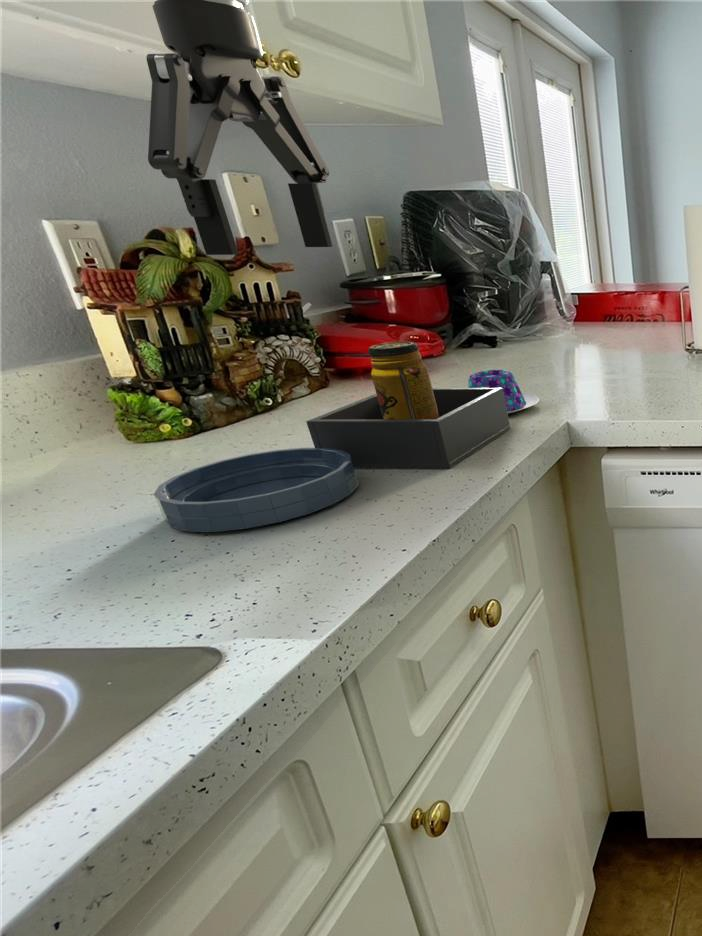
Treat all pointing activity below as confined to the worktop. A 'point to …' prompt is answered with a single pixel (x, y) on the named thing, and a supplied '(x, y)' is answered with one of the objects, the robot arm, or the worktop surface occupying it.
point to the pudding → (510, 388)
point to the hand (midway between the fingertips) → (275, 250)
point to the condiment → (402, 382)
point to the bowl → (256, 489)
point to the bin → (415, 430)
